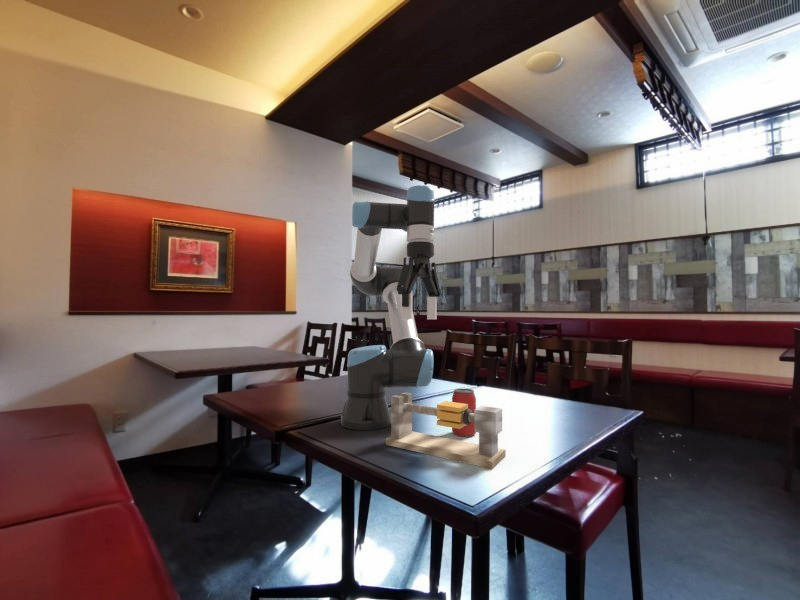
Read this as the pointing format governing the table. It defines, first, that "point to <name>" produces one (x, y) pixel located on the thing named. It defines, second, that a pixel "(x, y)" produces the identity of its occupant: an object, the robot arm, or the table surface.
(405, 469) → the table surface
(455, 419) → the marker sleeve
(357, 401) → the robot arm
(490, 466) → the rod stand with block
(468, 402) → the beer can
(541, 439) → the table surface
